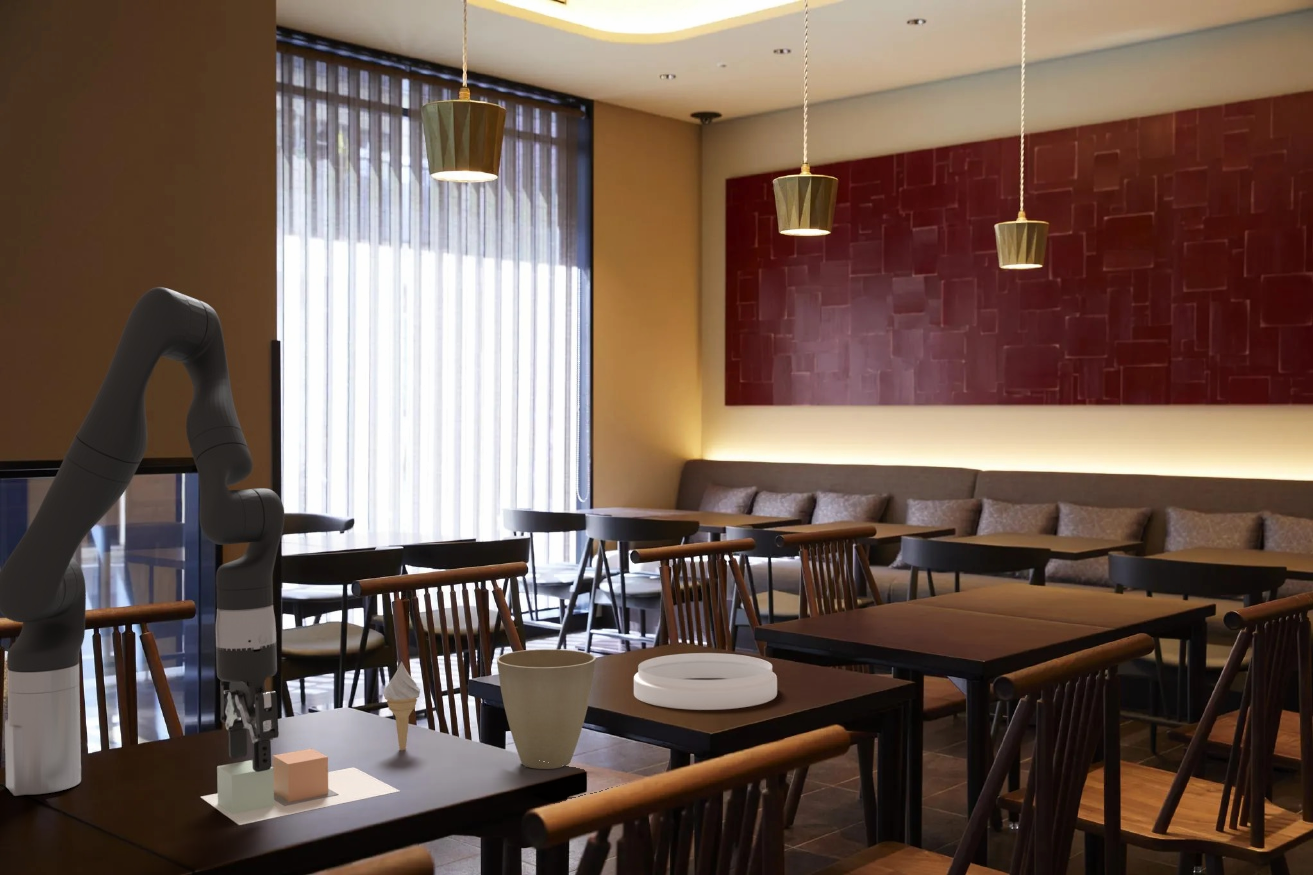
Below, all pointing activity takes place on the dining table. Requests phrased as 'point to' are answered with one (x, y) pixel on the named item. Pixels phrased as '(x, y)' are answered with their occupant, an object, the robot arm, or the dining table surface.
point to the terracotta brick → (300, 774)
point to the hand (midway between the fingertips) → (249, 763)
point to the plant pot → (546, 702)
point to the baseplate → (340, 790)
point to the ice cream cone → (401, 701)
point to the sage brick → (244, 787)
